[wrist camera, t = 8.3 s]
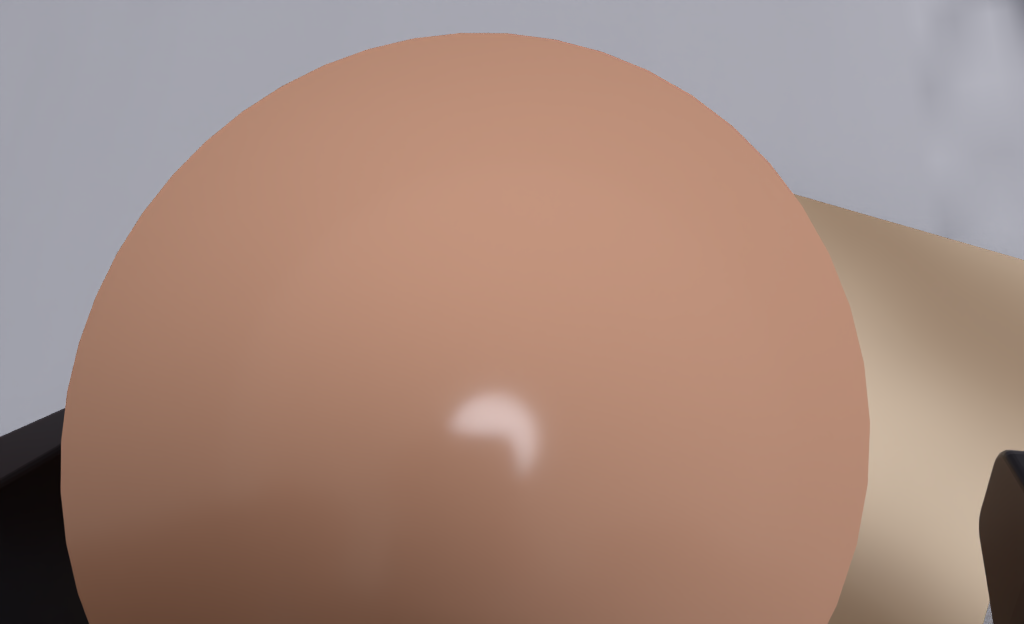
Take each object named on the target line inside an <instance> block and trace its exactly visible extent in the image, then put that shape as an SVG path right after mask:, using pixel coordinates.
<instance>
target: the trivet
mask: <svg viewBox="0 0 1024 624" xmlns="http://www.w3.org/2000/svg"><path fill="white" fill-rule="evenodd" d="M794 196H795V197H796V198H797V200H798V201H799V202H800V204H801V205H802V206H803V208H804V210H805V212H806V213H807V215H808V217H809V219H810V221H811V222H812V224H813V226H814V228H815V229H816V231H817V233H818V235H819V236H820V238H821V240H822V242H823V244H824V245H825V247H826V249H827V251H828V252H829V254H830V257H831V259H832V262H833V264H834V267H835V269H836V272H837V274H838V277H839V279H840V282H841V285H842V287H843V290H844V292H845V295H846V297H847V300H848V302H849V305H850V308H851V312H852V316H853V320H854V324H855V328H856V332H857V336H858V340H859V345H860V349H861V353H862V357H863V361H864V367H865V377H866V387H867V397H868V407H869V417H870V438H869V464H868V485H867V491H866V496H865V502H864V507H863V513H862V518H861V524H860V529H859V535H858V541H857V546H856V549H855V552H854V555H853V558H852V561H851V564H850V567H849V570H848V573H847V576H846V579H845V582H844V585H843V588H842V591H841V594H840V597H839V600H838V603H837V606H836V608H835V610H834V612H833V614H832V616H831V618H830V620H829V622H828V624H983V622H984V618H985V615H986V612H987V608H988V605H989V601H990V599H989V593H988V587H987V581H986V575H985V569H984V562H983V556H982V550H981V544H980V538H979V516H980V511H981V507H982V503H983V500H984V496H985V493H986V489H987V486H988V482H989V479H990V475H991V472H992V468H993V465H994V462H995V459H996V458H997V456H998V455H999V453H1001V452H1002V451H1004V450H1019V451H1024V260H1022V259H1018V258H1015V257H1011V256H1008V255H1004V254H1001V253H997V252H994V251H990V250H987V249H983V248H980V247H976V246H973V245H969V244H966V243H962V242H959V241H955V240H952V239H948V238H945V237H941V236H938V235H934V234H931V233H927V232H924V231H921V230H917V229H914V228H910V227H907V226H903V225H900V224H896V223H893V222H889V221H886V220H882V219H879V218H875V217H872V216H868V215H865V214H861V213H858V212H854V211H851V210H847V209H844V208H840V207H837V206H833V205H830V204H826V203H823V202H819V201H816V200H813V199H809V198H806V197H802V196H799V195H795V194H794Z"/></svg>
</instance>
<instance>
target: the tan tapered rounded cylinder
mask: <svg viewBox="0 0 1024 624" xmlns="http://www.w3.org/2000/svg"><path fill="white" fill-rule="evenodd" d="M869 438H870V417H869V407H868V397H867V387H866V377H865V367H864V361H863V357H862V353H861V349H860V345H859V340H858V336H857V332H856V328H855V324H854V320H853V316H852V312H851V308H850V305H849V302H848V300H847V297H846V295H845V292H844V290H843V287H842V285H841V282H840V279H839V277H838V274H837V272H836V269H835V267H834V264H833V262H832V259H831V257H830V254H829V252H828V251H827V249H826V247H825V245H824V244H823V242H822V240H821V238H820V236H819V235H818V233H817V231H816V229H815V228H814V226H813V224H812V222H811V221H810V219H809V217H808V215H807V213H806V212H805V210H804V208H803V206H802V205H801V204H800V202H799V201H798V200H797V198H796V197H795V196H794V194H793V193H792V192H791V191H790V189H789V188H788V187H787V185H786V184H785V183H784V181H783V180H782V179H781V177H780V176H779V175H778V173H777V172H776V171H775V170H774V168H773V167H772V166H771V164H770V163H769V162H768V161H767V160H766V159H765V158H764V157H763V156H762V155H761V154H760V153H759V152H758V151H757V150H756V149H755V148H754V147H753V146H752V145H751V144H750V143H749V142H748V141H747V140H746V139H745V138H744V137H743V136H742V135H741V134H740V133H739V132H738V131H737V130H736V129H735V128H734V127H733V126H732V125H730V124H729V123H728V122H726V121H725V120H724V119H722V118H721V117H720V116H718V115H717V114H716V113H714V112H713V111H712V110H711V109H709V108H708V107H707V106H705V105H704V104H703V103H701V102H700V101H699V100H697V99H696V98H695V97H693V96H692V95H690V94H689V93H687V92H685V91H683V90H682V89H680V88H678V87H676V86H675V85H673V84H671V83H669V82H667V81H666V80H664V79H662V78H660V77H659V76H657V75H655V74H653V73H652V72H650V71H648V70H646V69H643V68H641V67H638V66H636V65H633V64H631V63H628V62H626V61H623V60H621V59H618V58H616V57H614V56H611V55H609V54H606V53H604V52H601V51H597V50H593V49H589V48H585V47H581V46H578V45H574V44H570V43H566V42H562V41H559V40H554V39H546V38H539V37H531V36H523V35H516V34H508V33H458V34H449V35H440V36H432V37H423V38H414V39H410V40H406V41H401V42H397V43H393V44H389V45H384V46H380V47H376V48H372V49H368V50H365V51H362V52H359V53H357V54H354V55H351V56H348V57H346V58H343V59H340V60H337V61H335V62H332V63H329V64H326V65H324V66H322V67H320V68H318V69H316V70H314V71H312V72H310V73H308V74H306V75H304V76H302V77H300V78H298V79H296V80H294V81H292V82H290V83H288V84H286V85H284V86H282V87H280V88H278V89H277V90H275V91H274V92H272V93H271V94H269V95H268V96H266V97H265V98H263V99H261V100H260V101H258V102H257V103H255V104H254V105H252V106H251V107H249V108H248V109H246V110H244V111H243V112H242V113H240V114H239V115H238V116H237V117H235V118H234V119H233V120H232V121H230V122H229V123H228V124H227V125H226V126H224V127H223V128H222V129H221V130H219V131H218V132H217V133H216V134H214V135H213V136H212V137H211V138H210V139H208V140H207V141H206V142H205V143H204V144H203V145H202V146H201V147H200V148H199V149H198V150H197V151H196V152H195V153H194V154H193V155H192V156H191V157H190V158H189V159H188V160H187V161H186V162H185V163H184V164H183V165H182V166H181V167H180V168H179V169H178V170H177V171H176V172H175V173H174V174H173V175H172V177H171V178H170V179H169V180H168V182H167V183H166V184H165V185H164V187H163V188H162V189H161V190H160V192H159V193H158V194H157V195H156V197H155V198H154V199H153V200H152V202H151V203H150V204H149V206H148V207H147V208H146V209H145V211H144V212H143V213H142V215H141V216H140V218H139V219H138V221H137V223H136V224H135V226H134V227H133V229H132V231H131V232H130V234H129V235H128V237H127V238H126V240H125V242H124V243H123V245H122V246H121V248H120V250H119V251H118V253H117V255H116V257H115V259H114V261H113V263H112V265H111V267H110V269H109V271H108V273H107V275H106V277H105V279H104V281H103V283H102V285H101V287H100V289H99V291H98V293H97V295H96V298H95V300H94V303H93V306H92V309H91V311H90V314H89V317H88V320H87V322H86V325H85V328H84V331H83V334H82V336H81V339H80V342H79V345H78V349H77V354H76V358H75V362H74V366H73V370H72V374H71V378H70V383H69V387H68V391H67V398H66V406H65V414H64V422H63V430H62V438H61V500H62V509H63V518H64V527H65V537H66V544H67V549H68V553H69V557H70V561H71V566H72V570H73V574H74V579H75V583H76V587H77V592H78V595H79V598H80V600H81V603H82V606H83V608H84V611H85V614H86V617H87V619H88V622H89V624H828V622H829V620H830V618H831V616H832V614H833V612H834V610H835V608H836V606H837V603H838V600H839V597H840V594H841V591H842V588H843V585H844V582H845V579H846V576H847V573H848V570H849V567H850V564H851V561H852V558H853V555H854V552H855V549H856V546H857V541H858V535H859V529H860V524H861V518H862V513H863V507H864V502H865V496H866V491H867V485H868V464H869Z"/></svg>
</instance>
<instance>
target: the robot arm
mask: <svg viewBox="0 0 1024 624" xmlns="http://www.w3.org/2000/svg"><path fill="white" fill-rule="evenodd" d="M64 414H65V408H64V409H62V410H60V411H57V412H55V413H53V414H51V415H48V416H46V417H44V418H42V419H39V420H37V421H35V422H33V423H30V424H28V425H26V426H24V427H21V428H19V429H17V430H15V431H12V432H10V433H8V434H6V435H3V436H1V437H0V624H89V622H88V619H87V617H86V614H85V611H84V608H83V606H82V603H81V600H80V598H79V595H78V592H77V587H76V583H75V579H74V574H73V570H72V566H71V561H70V557H69V553H68V549H67V544H66V537H65V527H64V518H63V509H62V500H61V438H62V430H63V422H64ZM979 538H980V544H981V550H982V556H983V562H984V569H985V575H986V581H987V587H988V593H989V599H990V605H991V612H992V618H993V624H1024V451H1019V450H1004V451H1002V452H1001V453H999V455H998V456H997V458H996V459H995V462H994V465H993V468H992V472H991V475H990V479H989V482H988V486H987V489H986V493H985V496H984V500H983V503H982V507H981V511H980V516H979Z"/></svg>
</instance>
